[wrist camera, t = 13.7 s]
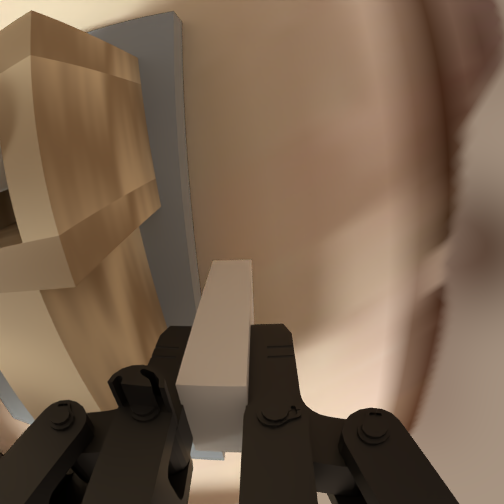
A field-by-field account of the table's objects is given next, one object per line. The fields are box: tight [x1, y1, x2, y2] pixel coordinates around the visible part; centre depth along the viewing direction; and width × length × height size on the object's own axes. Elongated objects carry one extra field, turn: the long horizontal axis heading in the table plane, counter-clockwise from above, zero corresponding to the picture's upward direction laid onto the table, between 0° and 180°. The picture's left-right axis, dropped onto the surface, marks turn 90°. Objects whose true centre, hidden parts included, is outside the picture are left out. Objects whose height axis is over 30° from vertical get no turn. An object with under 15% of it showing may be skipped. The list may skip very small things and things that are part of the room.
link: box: [0, 10, 167, 420], centre depth 11 cm, size 18×6×7 cm, turn 7°
